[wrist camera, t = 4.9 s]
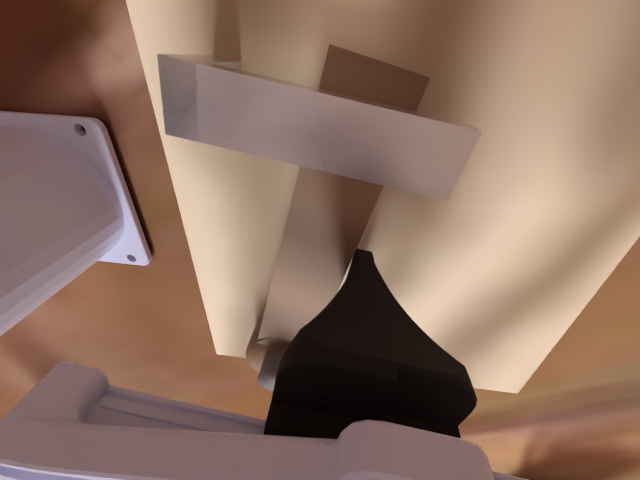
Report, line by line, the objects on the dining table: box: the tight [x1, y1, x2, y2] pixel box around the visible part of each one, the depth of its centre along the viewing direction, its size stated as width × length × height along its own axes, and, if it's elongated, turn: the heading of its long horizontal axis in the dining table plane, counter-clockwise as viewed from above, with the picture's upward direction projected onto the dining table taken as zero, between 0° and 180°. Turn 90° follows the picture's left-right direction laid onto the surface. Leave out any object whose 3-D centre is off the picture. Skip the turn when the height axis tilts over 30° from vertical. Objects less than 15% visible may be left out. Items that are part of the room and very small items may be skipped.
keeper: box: [157, 54, 482, 201], centre depth 9 cm, size 8×2×3 cm, turn 79°
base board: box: [126, 0, 640, 393], centre depth 14 cm, size 20×20×1 cm
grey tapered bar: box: [245, 44, 430, 391], centre depth 13 cm, size 17×4×3 cm, turn 165°
